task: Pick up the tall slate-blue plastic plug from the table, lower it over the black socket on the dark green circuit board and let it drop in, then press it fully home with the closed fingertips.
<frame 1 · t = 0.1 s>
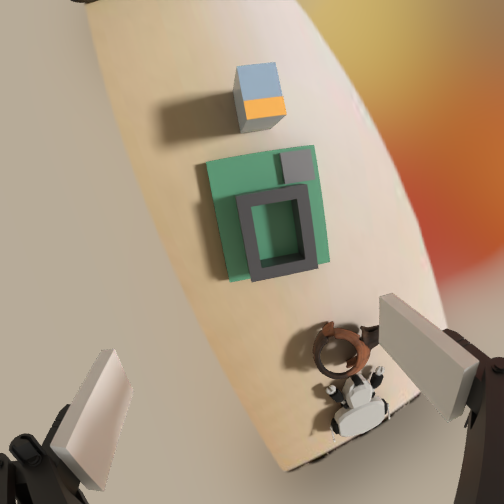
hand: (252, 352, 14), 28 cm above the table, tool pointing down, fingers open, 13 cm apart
robot toy: (353, 396, 51), on the table
plug: (251, 109, 37), on the table
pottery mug: (343, 337, 47), on the table
circuit board: (269, 212, 40), on the table
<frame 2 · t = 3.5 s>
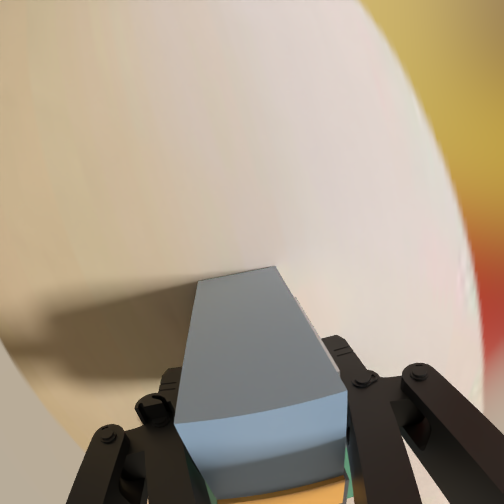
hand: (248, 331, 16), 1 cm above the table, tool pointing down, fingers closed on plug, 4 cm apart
plug: (247, 324, 16), on the table, touching gripper
circuit board: (278, 465, 20), on the table
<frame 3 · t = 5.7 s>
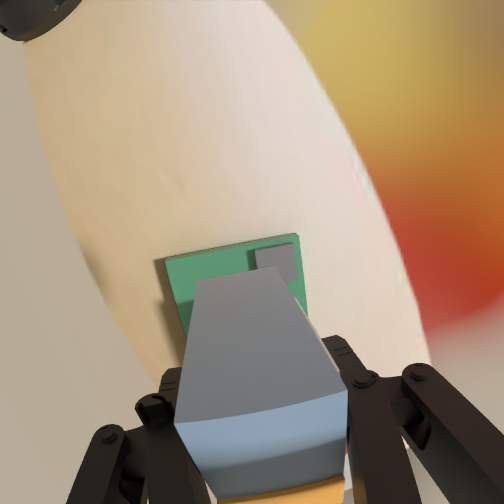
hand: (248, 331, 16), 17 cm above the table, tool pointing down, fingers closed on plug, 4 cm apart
plug: (247, 324, 16), point 17 cm above the table, touching gripper
circuit board: (244, 311, 34), on the table
when the fingers open (7 cm above the table, at t = 8.3 s): plug drops 5 cm, resting on circuit board.
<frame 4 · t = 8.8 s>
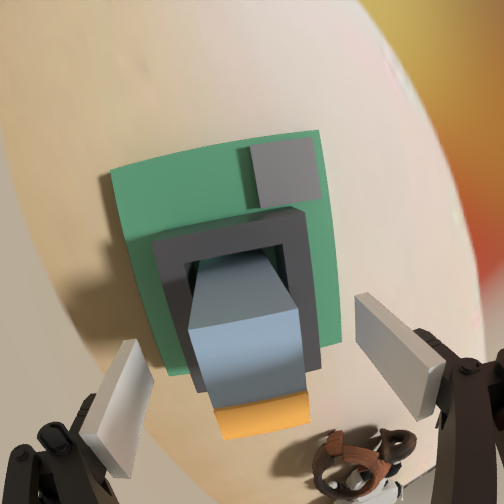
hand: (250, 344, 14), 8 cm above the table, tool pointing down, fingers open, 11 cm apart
robot toy: (360, 481, 32), on the table
plug: (238, 293, 21), point 2 cm above the table, touching circuit board
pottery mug: (356, 439, 29), on the table
circuit board: (234, 259, 22), on the table
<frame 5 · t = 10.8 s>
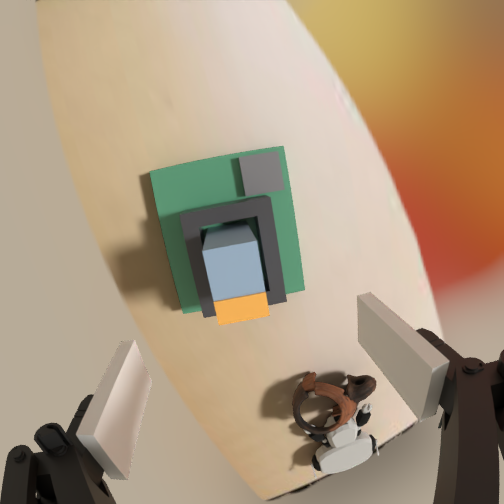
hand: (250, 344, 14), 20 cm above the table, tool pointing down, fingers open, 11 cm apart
robot toy: (338, 432, 44), on the table
plug: (232, 252, 32), point 1 cm above the table, touching circuit board
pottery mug: (328, 385, 40), on the table
circuit board: (229, 230, 33), on the table
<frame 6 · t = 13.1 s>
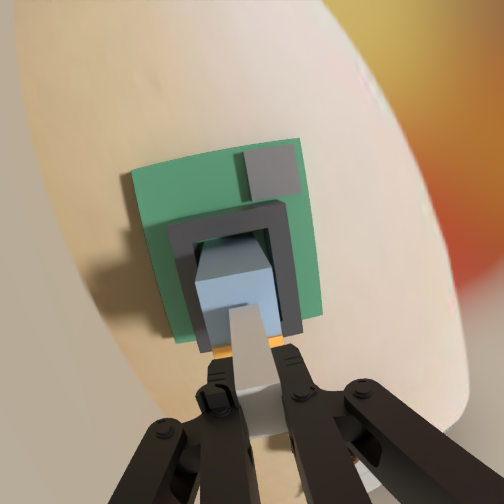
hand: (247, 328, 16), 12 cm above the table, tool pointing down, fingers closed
robot toy: (350, 459, 37), on the table
plug: (234, 270, 26), point 2 cm above the table, touching circuit board, gripper
circuit board: (231, 243, 27), on the table
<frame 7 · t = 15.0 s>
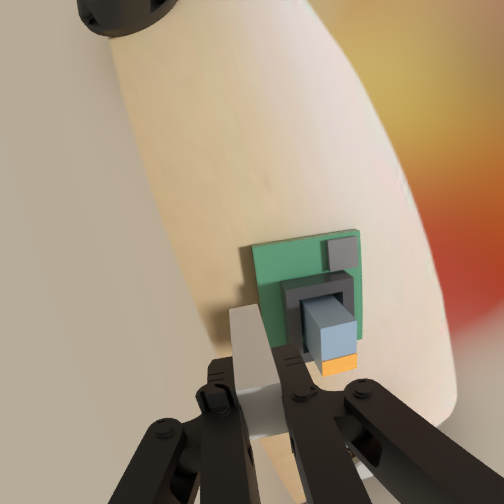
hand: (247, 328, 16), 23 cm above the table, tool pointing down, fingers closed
robot toy: (367, 445, 50), on the table
plug: (313, 312, 39), point 1 cm above the table, touching circuit board
circuit board: (310, 294, 40), on the table
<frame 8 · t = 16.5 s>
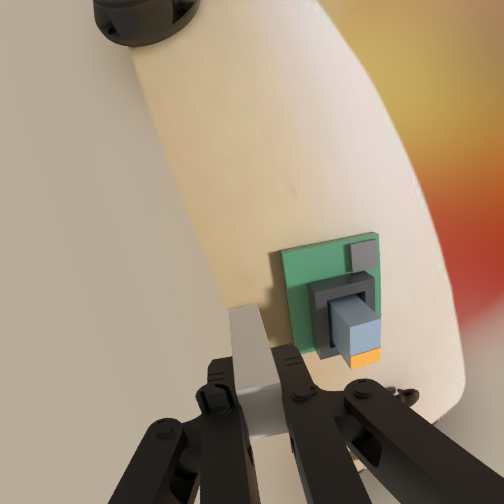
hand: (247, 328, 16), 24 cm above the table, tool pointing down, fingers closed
plug: (337, 310, 42), point 1 cm above the table, touching circuit board
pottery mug: (383, 397, 50), on the table
circuit board: (334, 293, 43), on the table
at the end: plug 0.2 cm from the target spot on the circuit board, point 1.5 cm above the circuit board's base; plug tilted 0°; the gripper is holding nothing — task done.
